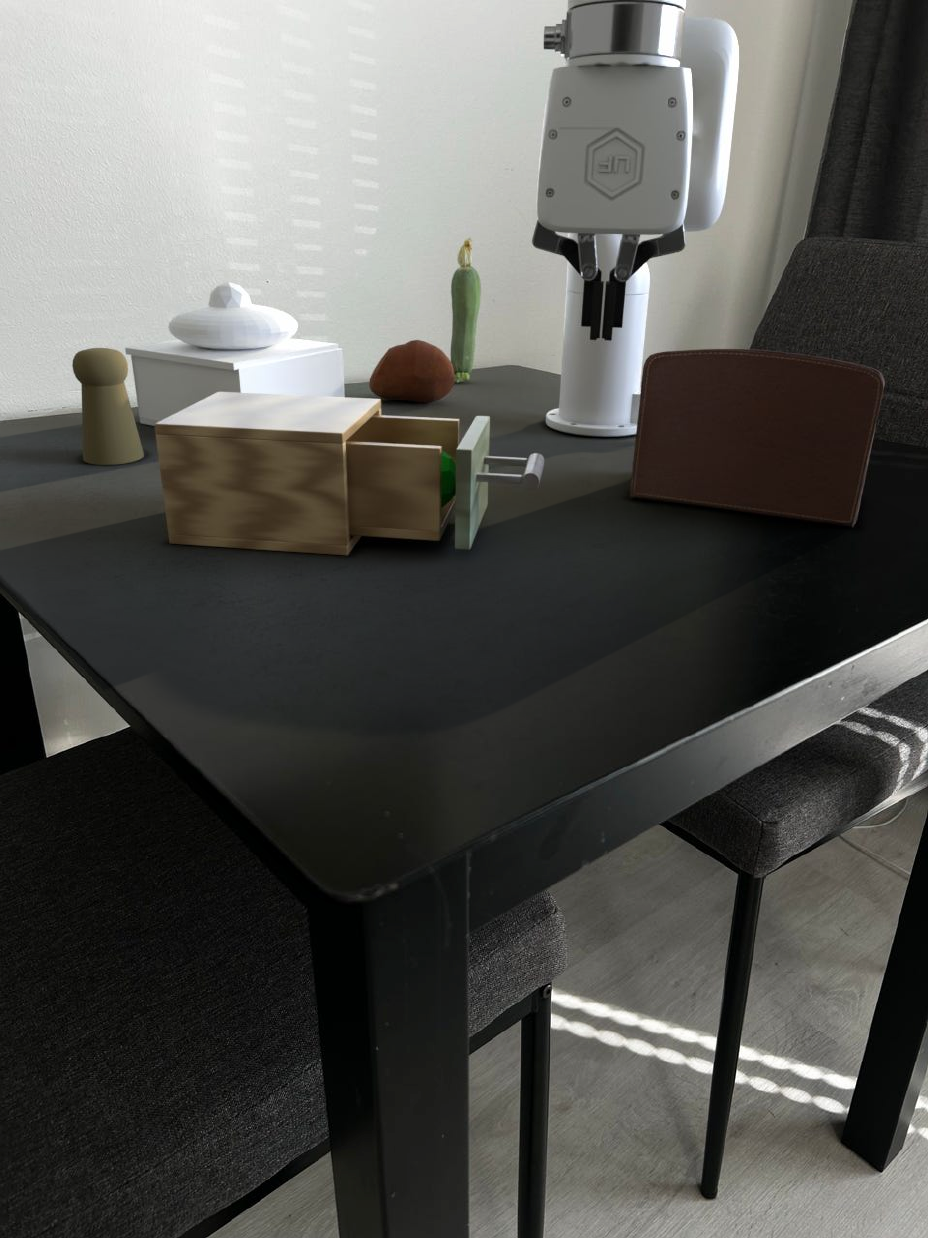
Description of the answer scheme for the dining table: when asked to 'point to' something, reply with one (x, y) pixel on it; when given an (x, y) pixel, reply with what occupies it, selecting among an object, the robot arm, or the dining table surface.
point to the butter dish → (231, 357)
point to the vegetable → (464, 313)
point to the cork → (106, 408)
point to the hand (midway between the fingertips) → (600, 337)
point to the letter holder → (756, 432)
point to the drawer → (423, 477)
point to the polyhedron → (447, 478)
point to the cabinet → (260, 471)
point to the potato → (413, 373)
